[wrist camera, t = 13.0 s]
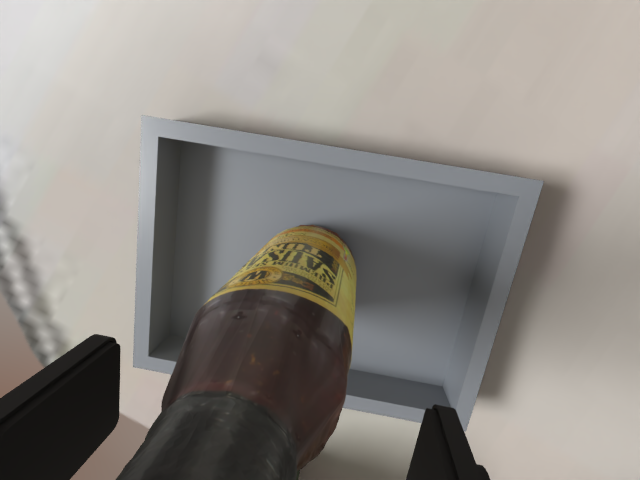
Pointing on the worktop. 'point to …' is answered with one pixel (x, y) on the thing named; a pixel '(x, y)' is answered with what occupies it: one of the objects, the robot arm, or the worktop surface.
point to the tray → (360, 236)
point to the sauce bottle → (260, 368)
